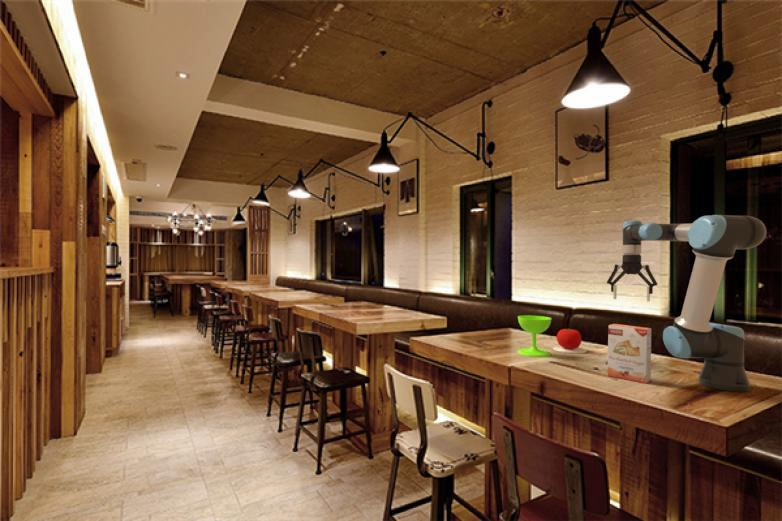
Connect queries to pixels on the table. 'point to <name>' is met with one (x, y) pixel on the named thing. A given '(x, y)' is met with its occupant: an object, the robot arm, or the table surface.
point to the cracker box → (629, 352)
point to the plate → (569, 350)
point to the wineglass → (534, 333)
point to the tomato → (569, 338)
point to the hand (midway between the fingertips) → (631, 300)
